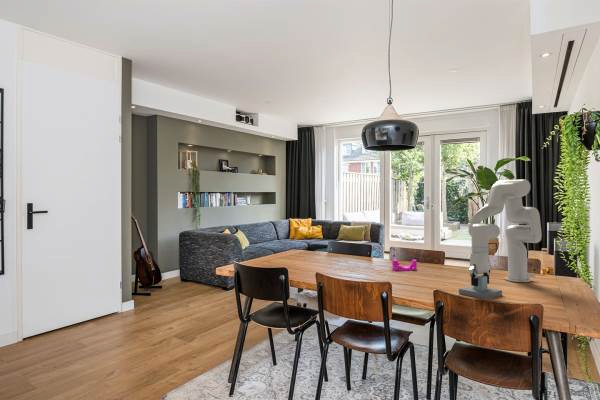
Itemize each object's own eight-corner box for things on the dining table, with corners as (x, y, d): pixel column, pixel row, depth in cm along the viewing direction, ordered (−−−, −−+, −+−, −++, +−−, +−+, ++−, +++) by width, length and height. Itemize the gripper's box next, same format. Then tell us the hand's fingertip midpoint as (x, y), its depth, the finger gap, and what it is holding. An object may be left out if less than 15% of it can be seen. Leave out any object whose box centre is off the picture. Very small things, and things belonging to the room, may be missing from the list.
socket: (474, 289, 193) (474, 285, 193) (502, 295, 181) (502, 290, 181) (458, 293, 185) (458, 288, 185) (486, 299, 173) (486, 294, 173)
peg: (478, 293, 186) (478, 275, 186) (487, 294, 182) (487, 276, 182) (473, 294, 184) (473, 276, 184) (482, 296, 180) (482, 277, 180)
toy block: (394, 272, 242) (394, 261, 242) (392, 270, 248) (392, 259, 248) (417, 272, 241) (417, 261, 241) (415, 271, 247) (415, 259, 247)
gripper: (482, 247, 191) (482, 281, 191) (462, 250, 181) (462, 285, 181) (497, 249, 185) (497, 283, 185) (477, 252, 175) (477, 288, 175)
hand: (480, 284), depth 183 cm, fingers open, 9 cm apart
